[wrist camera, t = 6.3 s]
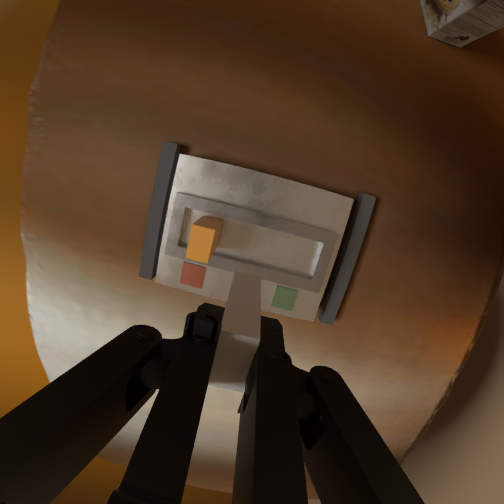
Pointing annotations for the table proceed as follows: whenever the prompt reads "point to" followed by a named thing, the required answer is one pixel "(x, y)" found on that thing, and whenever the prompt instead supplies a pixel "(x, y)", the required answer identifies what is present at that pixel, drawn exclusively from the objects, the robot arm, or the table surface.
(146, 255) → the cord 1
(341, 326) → the table surface
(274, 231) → the panel
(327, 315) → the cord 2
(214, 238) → the lever
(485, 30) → the coffee box
